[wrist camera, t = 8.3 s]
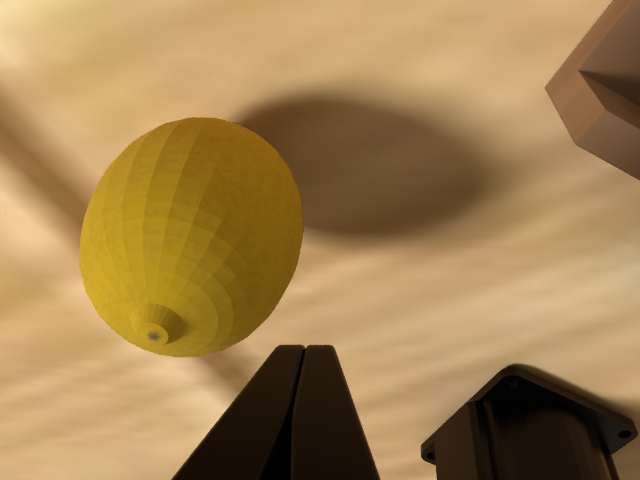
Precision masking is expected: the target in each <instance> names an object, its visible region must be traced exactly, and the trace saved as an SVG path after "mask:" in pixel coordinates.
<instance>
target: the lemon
mask: <svg viewBox="0 0 640 480" xmlns="http://www.w3.org/2000/svg"><path fill="white" fill-rule="evenodd" d="M303 227H304V223H303V214H302V206H301V197H300V193H299V189H298V187H297V185H296V182H295V180H294V177H293V175H292V173H291V170H290V169H289V167H288V165H287V164H286V163H285V161H284V160H283V159H282V157H281V156H280V155H279V153H278V152H277V151H276V149H275V148H274V147H273V146H271V145H270V144H269V143H268V142H267V141H265V140H264V139H263V138H262V137H261V136H259V135H258V134H257V133H255V132H253V131H251V130H249V129H247V128H245V127H243V126H241V125H239V124H237V123H233V122H229V121H225V120H221V119H217V118H195V117H192V118H186V119H182V120H178V121H174V122H170V123H165V124H163V125H161V126H159V127H157V128H155V129H153V130H152V131H150V132H148V133H146V134H144V135H143V136H141V137H139V138H138V139H136V140H135V141H133V142H132V143H131V144H130V145H129V146H128V147H127V148H126V149H125V150H124V151H123V152H122V153H121V154H120V155H119V156H118V157H117V158H116V159H115V160H114V161H113V163H112V164H111V165H110V166H109V167H108V168H107V170H106V171H105V173H104V174H103V176H102V177H101V179H100V181H99V184H98V186H97V188H96V190H95V192H94V195H93V197H92V199H91V201H90V204H89V206H88V208H87V211H86V214H85V217H84V221H83V225H82V232H81V241H80V254H79V260H80V269H81V273H82V277H83V282H84V286H85V290H86V293H87V295H88V296H89V298H90V300H91V302H92V304H93V305H94V307H95V309H96V311H97V312H98V314H99V315H100V317H101V318H102V319H103V320H104V321H105V322H106V323H107V324H108V325H109V326H110V328H111V329H113V330H114V331H115V332H116V333H117V334H119V335H120V336H121V337H123V338H124V339H125V340H127V341H128V342H130V343H132V344H134V345H136V346H138V347H140V348H142V349H144V350H147V351H150V352H153V353H156V354H159V355H166V356H173V357H195V356H202V355H206V354H210V353H214V352H218V351H222V350H224V349H226V348H228V347H230V346H232V345H234V344H236V343H238V342H240V341H242V340H243V339H245V338H247V337H248V336H249V335H250V334H251V333H252V332H253V331H254V330H255V329H256V328H258V327H259V326H260V325H261V324H262V323H263V322H264V321H265V320H266V319H267V318H268V317H269V316H270V314H271V313H272V312H273V310H274V309H275V307H276V306H277V304H278V303H279V301H280V299H281V297H282V295H283V294H284V292H285V290H286V288H287V286H288V284H289V283H290V281H291V279H292V277H293V274H294V272H295V269H296V266H297V263H298V259H299V254H300V248H301V243H302V238H303Z"/></svg>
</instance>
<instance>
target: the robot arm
mask: <svg viewBox="0 0 640 480" xmlns="http://www.w3.org/2000/svg"><path fill="white" fill-rule="evenodd" d="M512 379H513V380H512ZM509 380H510V381H509ZM637 435H638V431H637V429H636V426H635V424H634V422H633V421H632V420H631V419H628V418H626V417H624V416H622V415H620V414H617V413H615V412H613V411H611V410H609V409H606V408H604V407H602V406H600V405H598V404H595V403H593V402H591V401H589V400H586V399H584V398H582V397H580V396H578V395H575V394H573V393H571V392H569V391H567V390H564V389H562V388H560V387H558V386H556V385H553V384H551V383H549V382H547V381H545V380H542V379H540V378H538V377H536V376H534V375H531V374H529V373H527V372H525V371H523V370H520V369H518V368H514V367H508V368H505V369H502V370H501V371H499V372H498V373H497V374H496V375H495V376H494V377H493V378H492V379H491V380H490V381H489V382H488V383H487V384H486V385H485V386H483V387H482V388H481V389H480V390H479V391H478V392H477V393H476V394H475V395H474V396H473V397H472V398H471V399H470V400H469V401H467V402H466V403H465V404H464V405H463V406H462V407H461V408H460V409H459V410H458V411H457V412H456V413H455V414H454V415H452V416H451V417H450V418H449V419H448V420H447V421H446V422H445V423H444V424H443V425H442V426H441V427H440V428H439V429H438V430H437V431H435V433H433V434H432V435H431V436H430V437H429V438H428V439H427V440H426V441H425V442H424V443H423V444H422V445H421V458H422V459H423V460H424V461H426V462H429V463H431V464H434V465H436V473H437V480H620V479H619V476H618V473H617V470H616V467H615V464H614V461H613V458H612V454H613V453H615V452H616V451H617V450H619V449H620V448H622V447H623V446H625V445H626V444H627V443H629V442H630V441H632V440H633V439H635V438H636V437H637ZM171 480H381V479H380V477H379V474H378V471H377V468H376V465H375V462H374V459H373V457H372V454H371V451H370V448H369V445H368V442H367V439H366V437H365V434H364V431H363V428H362V425H361V422H360V419H359V417H358V414H357V411H356V408H355V405H354V402H353V399H352V396H351V394H350V391H349V388H348V385H347V382H346V379H345V376H344V374H343V371H342V368H341V365H340V362H339V359H338V356H337V354H336V351H335V348H334V347H333V346H332V345H309V346H307V348H305V347H304V346H303V345H279V346H278V347H276V348H275V349H274V351H273V352H272V353H271V354H270V356H269V357H268V358H267V359H266V361H265V362H264V363H263V364H262V366H261V367H260V368H259V370H258V371H257V372H256V373H255V375H254V376H253V377H252V378H251V380H250V381H249V382H248V383H247V385H246V386H245V387H244V388H243V390H242V391H241V392H240V393H239V395H238V396H237V397H236V399H235V400H234V401H233V402H232V404H231V405H230V406H229V407H228V409H227V410H226V411H225V412H224V414H223V415H222V416H221V417H220V419H219V420H218V421H217V423H216V424H215V425H214V426H213V428H212V429H211V430H210V431H209V433H208V434H207V435H206V436H205V438H204V439H203V440H202V441H201V443H200V444H199V445H198V446H197V448H196V449H195V450H194V452H193V453H192V454H191V455H190V457H189V458H188V459H187V460H186V462H185V463H184V464H183V465H182V467H181V468H180V469H179V470H178V472H177V473H176V474H175V475H174V477H173V478H172V479H171Z"/></svg>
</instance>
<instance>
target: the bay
mask: <svg viewBox="0 0 640 480" xmlns="http://www.w3.org/2000/svg"><path fill="white" fill-rule="evenodd" d="M545 90H546V91H547V93H548V95H549V97H550V99H551V101H552V102H553V104H554V106H555V108H556V110H557V112H558V113H559V115H560V117H561V119H562V121H563V123H564V125H565V126H566V128H567V130H568V132H569V134H570V136H571V137H572V139H573V141H574V143H575V145H577V146H579V147H581V148H583V149H584V150H586V151H588V152H590V153H592V154H593V155H595V156H597V157H599V158H601V159H602V160H604V161H606V162H608V163H610V164H611V165H613V166H615V167H617V168H619V169H620V170H622V171H624V172H626V173H628V174H629V175H631V176H633V177H635V178H637V179H638V180H640V0H613V1H612V2H611V4H610V5H609V6H608V8H607V9H606V10H605V11H604V13H603V14H602V15H601V17H600V18H599V19H598V20H597V22H596V23H595V24H594V25H593V27H592V28H591V29H590V31H589V32H588V33H587V34H586V36H585V37H584V38H583V39H582V41H581V42H580V43H579V45H578V46H577V47H576V48H575V50H574V51H573V52H572V53H571V55H570V56H569V57H568V59H567V60H566V61H565V62H564V64H563V65H562V66H561V68H560V69H559V70H558V71H557V73H556V74H555V75H554V76H553V78H552V79H551V80H550V82H549V83H548V84H547V85H546V87H545Z"/></svg>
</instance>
